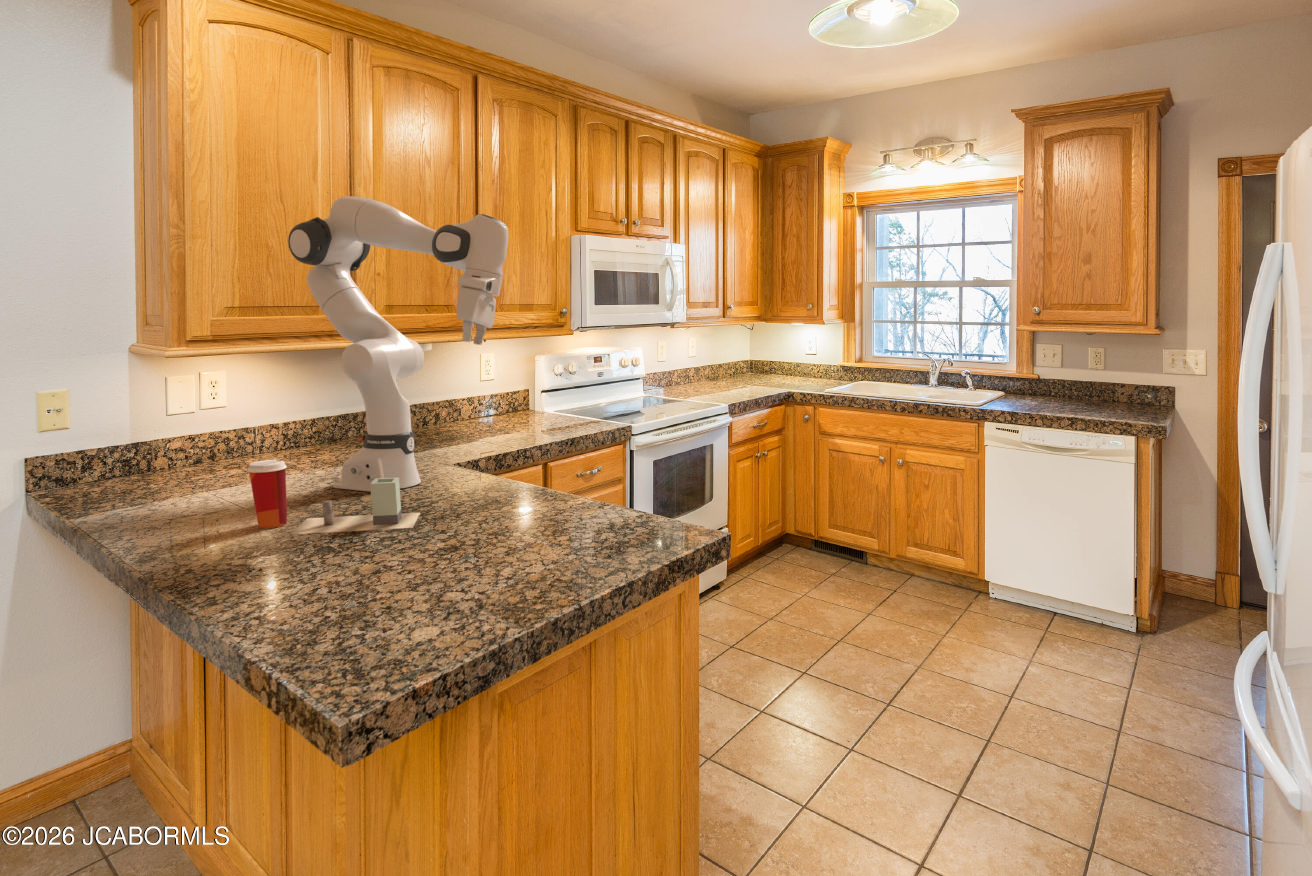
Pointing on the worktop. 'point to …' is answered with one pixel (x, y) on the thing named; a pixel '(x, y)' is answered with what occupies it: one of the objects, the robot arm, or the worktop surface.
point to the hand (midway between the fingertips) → (472, 343)
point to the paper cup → (269, 492)
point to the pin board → (349, 522)
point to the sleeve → (386, 501)
